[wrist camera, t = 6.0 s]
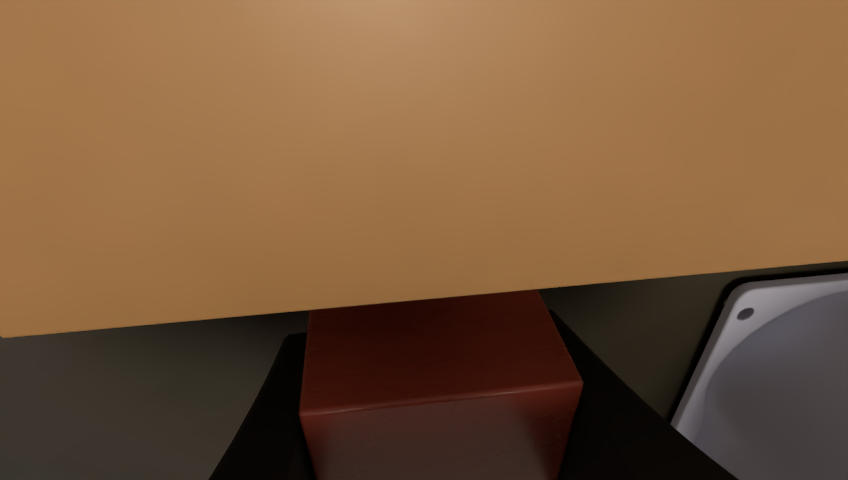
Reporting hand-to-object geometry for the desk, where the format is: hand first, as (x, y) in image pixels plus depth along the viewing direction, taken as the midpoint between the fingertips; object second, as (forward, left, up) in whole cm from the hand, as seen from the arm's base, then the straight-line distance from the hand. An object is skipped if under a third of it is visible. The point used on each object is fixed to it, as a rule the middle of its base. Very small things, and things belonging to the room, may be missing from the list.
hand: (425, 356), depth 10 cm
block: (0, 0, -1) cm, 1 cm away
